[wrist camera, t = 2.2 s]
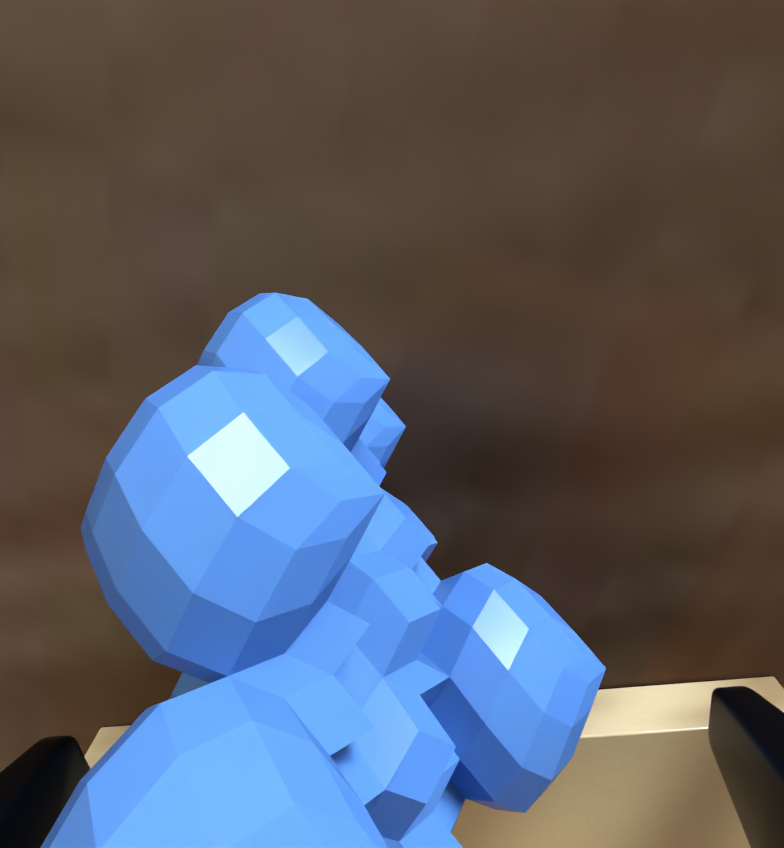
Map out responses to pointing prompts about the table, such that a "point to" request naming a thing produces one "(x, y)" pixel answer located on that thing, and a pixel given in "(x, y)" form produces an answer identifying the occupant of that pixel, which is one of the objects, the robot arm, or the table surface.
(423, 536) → the grapes
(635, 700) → the board
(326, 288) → the table surface
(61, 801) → the robot arm
